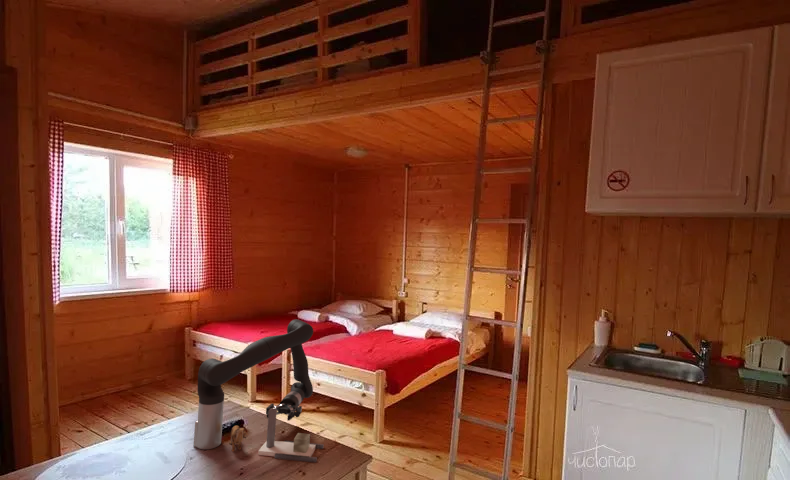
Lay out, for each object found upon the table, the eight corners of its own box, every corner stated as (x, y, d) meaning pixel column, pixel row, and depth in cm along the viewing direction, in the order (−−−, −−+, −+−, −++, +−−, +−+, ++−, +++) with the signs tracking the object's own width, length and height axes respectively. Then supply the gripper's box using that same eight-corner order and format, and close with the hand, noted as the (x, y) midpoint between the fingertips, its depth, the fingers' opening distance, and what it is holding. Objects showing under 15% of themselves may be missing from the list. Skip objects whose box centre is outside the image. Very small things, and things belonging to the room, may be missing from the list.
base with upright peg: (258, 454, 159) (260, 414, 160) (266, 443, 168) (269, 405, 169) (309, 459, 158) (312, 418, 158) (315, 448, 167) (318, 409, 167)
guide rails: (274, 458, 158) (274, 454, 158) (284, 444, 169) (284, 440, 169) (316, 463, 157) (316, 458, 157) (323, 448, 168) (323, 444, 168)
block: (293, 451, 161) (294, 438, 161) (297, 445, 166) (297, 432, 166) (305, 452, 160) (306, 439, 160) (309, 446, 165) (310, 434, 165)
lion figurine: (248, 452, 161) (249, 429, 161) (233, 455, 158) (235, 432, 158) (237, 436, 173) (238, 415, 173) (223, 439, 170) (225, 417, 170)
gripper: (276, 392, 188) (262, 406, 172) (307, 395, 187) (295, 409, 171) (275, 409, 188) (260, 424, 172) (305, 412, 187) (294, 428, 171)
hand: (278, 417), depth 171 cm, fingers open, 8 cm apart
